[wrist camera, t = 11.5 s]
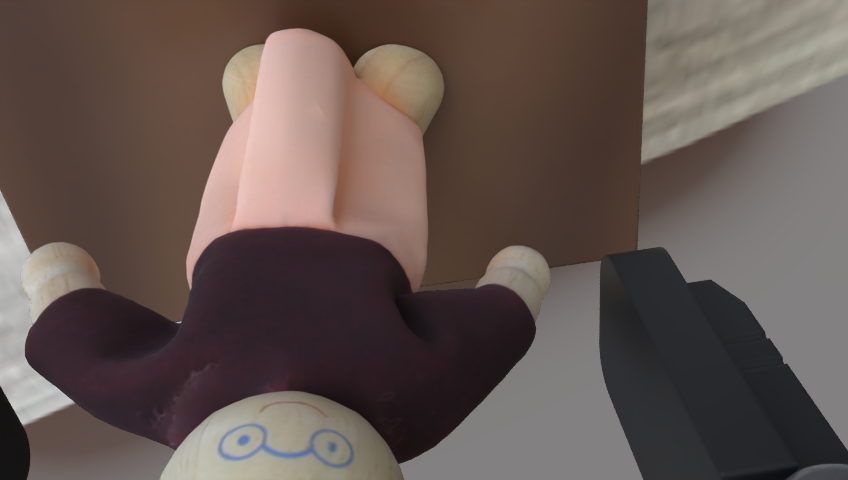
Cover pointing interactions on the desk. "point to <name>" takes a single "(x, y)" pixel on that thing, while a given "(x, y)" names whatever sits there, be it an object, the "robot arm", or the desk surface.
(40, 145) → the rack
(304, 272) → the grandmother figurine
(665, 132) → the desk surface
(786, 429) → the robot arm
